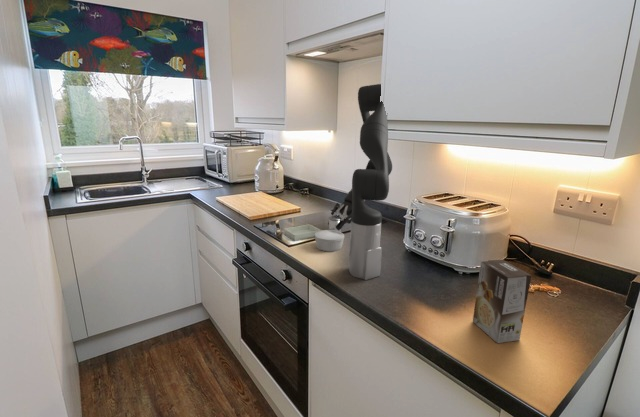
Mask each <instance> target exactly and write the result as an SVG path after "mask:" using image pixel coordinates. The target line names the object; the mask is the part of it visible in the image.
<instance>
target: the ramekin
mask: <svg viewBox="0 0 640 417" xmlns="http://www.w3.org/2000/svg"><path fill="white" fill-rule="evenodd" d="M314 239H315V245H316V248H317V249H319V250H320V251H322V252H331V253H332V252H337V251H339V250H341V248H343V243H344V240H345V234H344V233H343V232H342V231H341V232H338V231H334V230H329V229H325V230H324V229H323V230H322V229H321V231H318V232H316V233H315V237H314Z"/></svg>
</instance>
